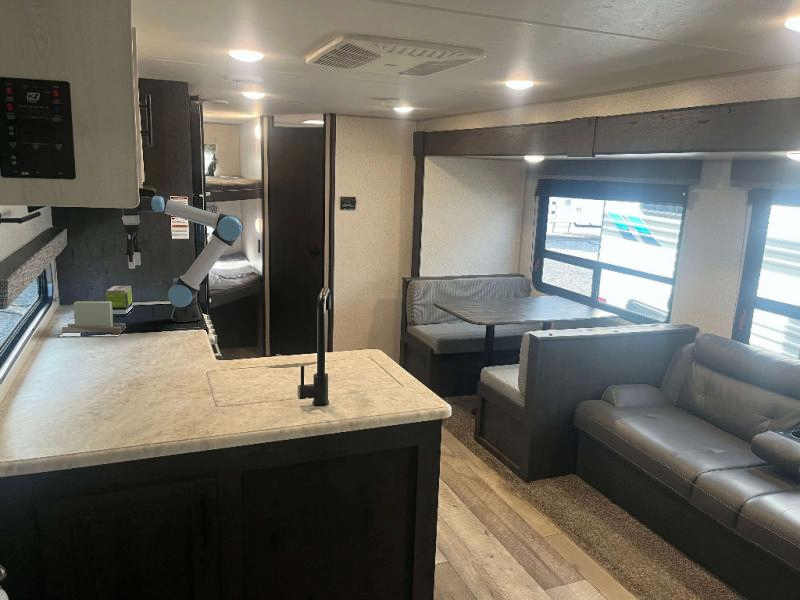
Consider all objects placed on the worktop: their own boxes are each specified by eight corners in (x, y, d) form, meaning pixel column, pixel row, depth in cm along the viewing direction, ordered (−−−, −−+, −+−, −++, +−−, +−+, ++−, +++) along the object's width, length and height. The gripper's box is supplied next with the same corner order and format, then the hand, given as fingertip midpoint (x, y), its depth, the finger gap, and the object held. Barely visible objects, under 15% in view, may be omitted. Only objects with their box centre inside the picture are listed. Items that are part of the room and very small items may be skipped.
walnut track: (72, 328, 301) (71, 321, 301) (128, 328, 306) (127, 321, 305) (58, 337, 284) (58, 330, 283) (118, 336, 288) (117, 329, 288)
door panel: (78, 329, 295) (76, 301, 293) (113, 329, 298) (111, 301, 295) (75, 331, 291) (73, 302, 289) (111, 331, 294) (109, 302, 292)
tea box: (114, 311, 345) (113, 285, 342) (133, 311, 347) (132, 285, 344) (106, 316, 330) (105, 289, 328) (126, 316, 332) (125, 289, 329)
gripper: (129, 222, 312) (132, 263, 316) (117, 225, 288) (121, 270, 292) (144, 222, 314) (147, 263, 318) (134, 225, 290) (137, 269, 294)
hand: (134, 266), depth 305 cm, fingers open, 13 cm apart
